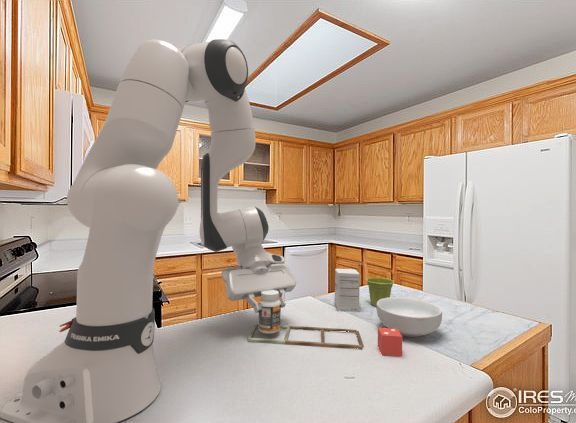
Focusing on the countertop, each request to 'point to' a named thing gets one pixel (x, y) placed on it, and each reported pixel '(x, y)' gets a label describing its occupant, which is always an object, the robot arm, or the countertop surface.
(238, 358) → the countertop surface
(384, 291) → the plant pot
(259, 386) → the countertop surface
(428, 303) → the cereal bowl
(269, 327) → the pill bottle
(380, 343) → the red die
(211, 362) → the countertop surface
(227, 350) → the countertop surface
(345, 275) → the supplement box
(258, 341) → the track frame
